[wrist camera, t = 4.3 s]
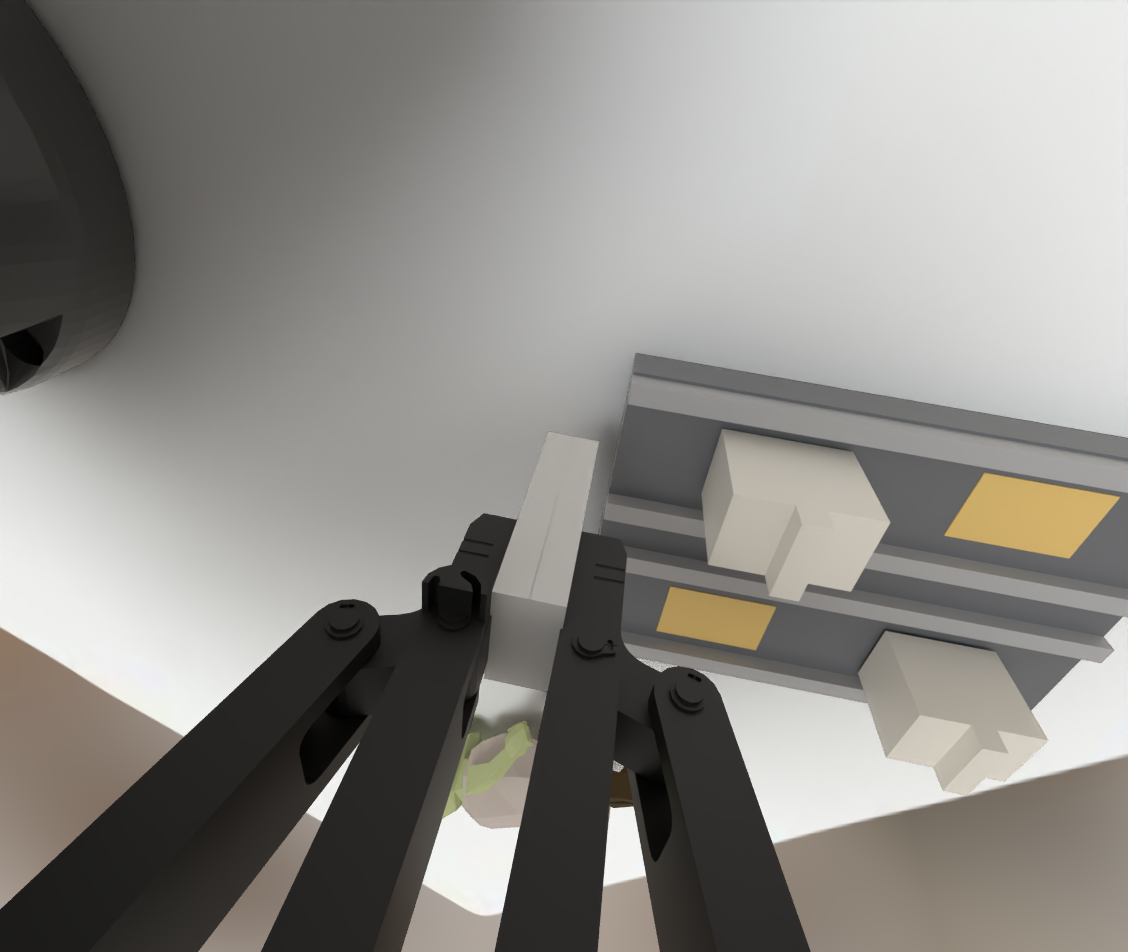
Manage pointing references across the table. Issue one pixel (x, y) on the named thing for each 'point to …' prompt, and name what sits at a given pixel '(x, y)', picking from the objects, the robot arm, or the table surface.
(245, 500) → the table surface
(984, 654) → the tab
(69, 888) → the robot arm
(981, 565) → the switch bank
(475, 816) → the figurine
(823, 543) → the tab
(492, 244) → the table surface
